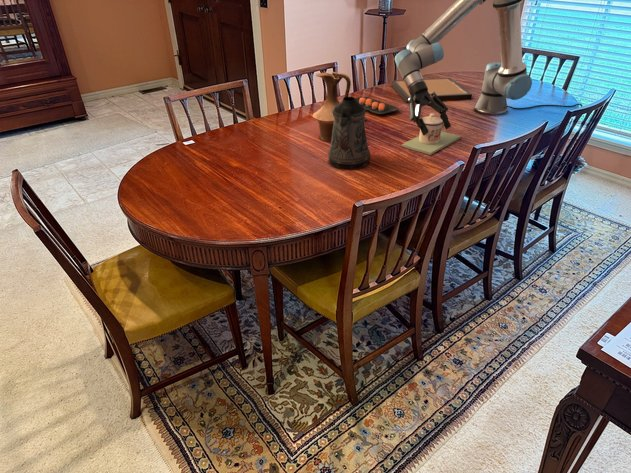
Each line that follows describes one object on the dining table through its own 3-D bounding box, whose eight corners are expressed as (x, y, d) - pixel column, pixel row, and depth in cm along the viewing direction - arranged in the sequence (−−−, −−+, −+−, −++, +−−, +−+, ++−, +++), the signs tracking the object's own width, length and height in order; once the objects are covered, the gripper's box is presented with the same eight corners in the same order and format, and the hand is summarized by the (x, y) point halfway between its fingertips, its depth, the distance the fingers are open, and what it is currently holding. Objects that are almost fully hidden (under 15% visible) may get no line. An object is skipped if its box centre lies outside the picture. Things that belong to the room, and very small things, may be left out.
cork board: (391, 85, 261) (406, 103, 232) (392, 80, 260) (407, 97, 230) (449, 82, 263) (471, 99, 234) (449, 77, 262) (472, 94, 232)
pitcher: (356, 132, 198) (358, 68, 182) (346, 146, 184) (347, 78, 169) (320, 129, 203) (318, 66, 187) (307, 142, 189) (305, 76, 174)
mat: (432, 131, 197) (432, 128, 196) (460, 138, 189) (460, 136, 188) (401, 146, 183) (401, 144, 182) (430, 155, 175) (430, 152, 174)
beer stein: (362, 151, 180) (364, 89, 166) (377, 170, 164) (381, 104, 150) (323, 155, 177) (322, 93, 163) (335, 175, 161) (335, 109, 147)
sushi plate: (401, 112, 220) (402, 104, 218) (355, 125, 206) (355, 117, 204) (364, 99, 240) (364, 92, 238) (320, 110, 226) (320, 102, 224)
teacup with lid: (428, 146, 179) (432, 119, 173) (413, 140, 186) (416, 113, 179) (449, 140, 184) (453, 113, 178) (434, 134, 191) (437, 107, 184)
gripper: (432, 85, 191) (452, 129, 189) (389, 95, 181) (410, 141, 179) (442, 75, 185) (464, 120, 182) (398, 84, 175) (420, 132, 172)
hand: (437, 130), depth 180 cm, fingers closed on teacup with lid, 12 cm apart
